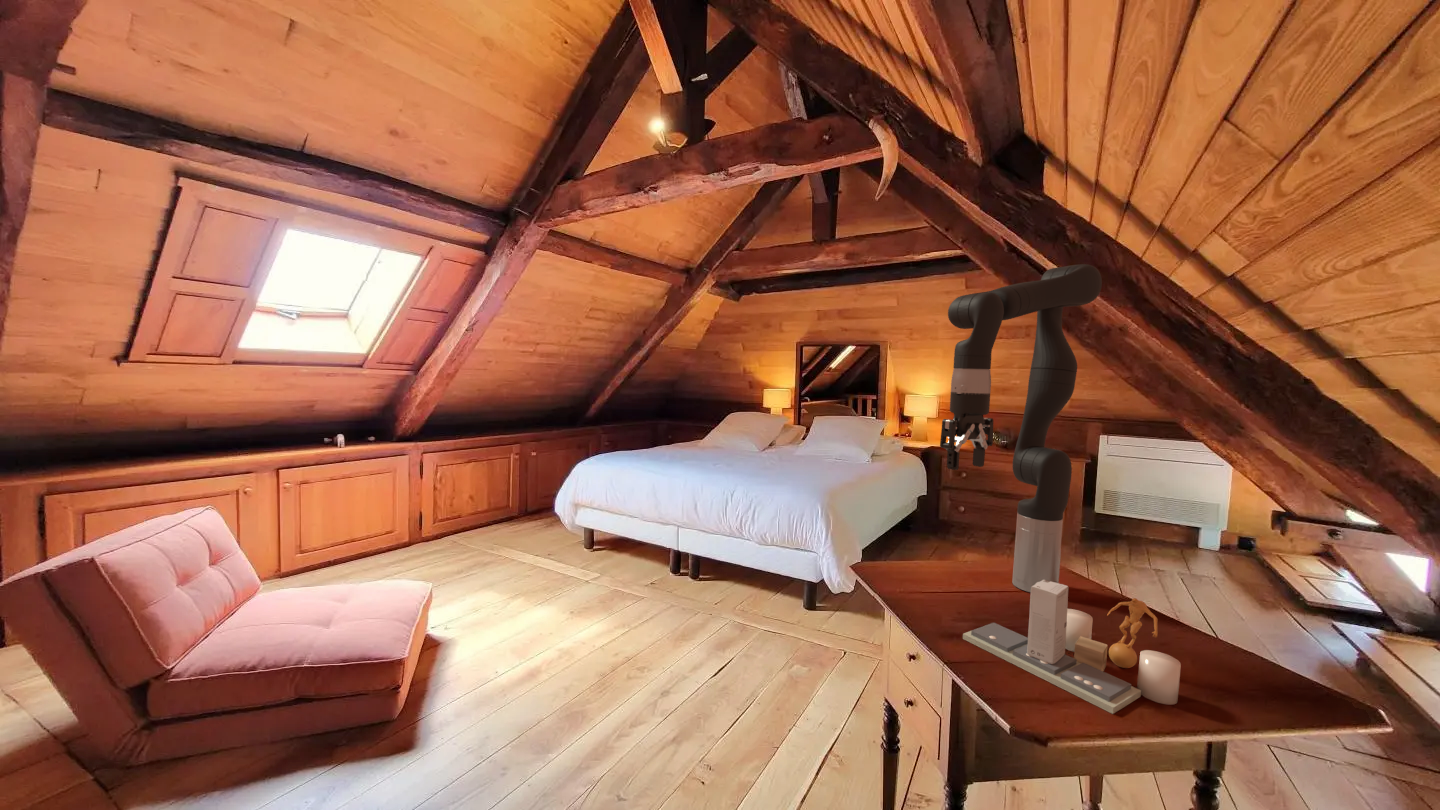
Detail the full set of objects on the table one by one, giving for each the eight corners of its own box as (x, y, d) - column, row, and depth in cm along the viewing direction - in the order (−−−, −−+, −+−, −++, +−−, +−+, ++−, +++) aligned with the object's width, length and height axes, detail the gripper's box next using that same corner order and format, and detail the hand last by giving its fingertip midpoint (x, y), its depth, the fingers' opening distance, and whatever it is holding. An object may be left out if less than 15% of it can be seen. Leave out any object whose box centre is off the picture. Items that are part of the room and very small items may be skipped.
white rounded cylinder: (1066, 636, 104) (1069, 606, 103) (1095, 648, 100) (1098, 617, 99) (1052, 643, 101) (1055, 612, 101) (1081, 655, 97) (1084, 623, 97)
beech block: (1078, 657, 97) (1080, 636, 96) (1105, 667, 94) (1107, 644, 93) (1073, 666, 94) (1075, 643, 93) (1101, 675, 91) (1103, 653, 91)
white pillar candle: (1145, 682, 89) (1148, 647, 89) (1183, 698, 85) (1186, 662, 84) (1131, 691, 87) (1134, 654, 86) (1169, 708, 82) (1172, 670, 82)
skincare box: (1053, 666, 90) (1059, 595, 89) (1024, 654, 93) (1030, 586, 92) (1066, 653, 94) (1071, 586, 93) (1037, 643, 97) (1042, 577, 96)
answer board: (991, 628, 107) (992, 619, 106) (1140, 696, 85) (1141, 685, 85) (962, 638, 102) (963, 629, 102) (1112, 714, 81) (1113, 702, 80)
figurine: (1090, 655, 97) (1095, 590, 96) (1115, 651, 99) (1120, 587, 98) (1138, 681, 89) (1144, 611, 88) (1164, 676, 91) (1170, 607, 90)
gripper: (975, 389, 119) (970, 462, 121) (932, 389, 112) (928, 467, 113) (1007, 391, 113) (1002, 468, 114) (965, 391, 106) (960, 473, 107)
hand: (965, 467), depth 114 cm, fingers open, 8 cm apart
